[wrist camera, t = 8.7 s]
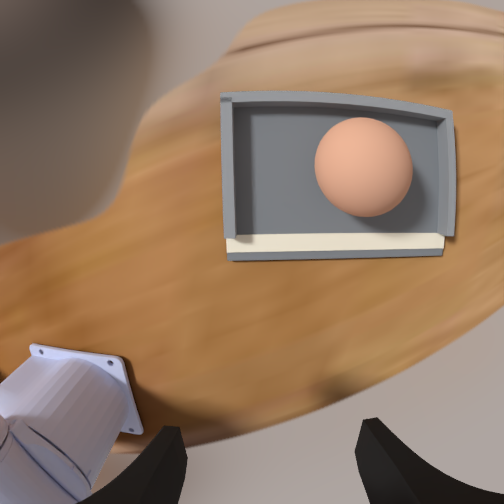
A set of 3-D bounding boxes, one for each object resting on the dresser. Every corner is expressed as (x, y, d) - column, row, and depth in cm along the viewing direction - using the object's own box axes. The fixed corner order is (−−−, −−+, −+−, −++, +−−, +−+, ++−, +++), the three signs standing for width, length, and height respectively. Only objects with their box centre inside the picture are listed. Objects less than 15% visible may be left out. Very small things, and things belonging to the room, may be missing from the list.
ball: (305, 212, 17) (331, 222, 12) (304, 124, 16) (327, 101, 11) (385, 213, 17) (431, 222, 12) (384, 131, 16) (428, 115, 11)
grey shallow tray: (228, 259, 18) (225, 266, 17) (223, 100, 16) (220, 92, 15) (439, 254, 18) (451, 259, 16) (439, 114, 16) (452, 110, 14)
